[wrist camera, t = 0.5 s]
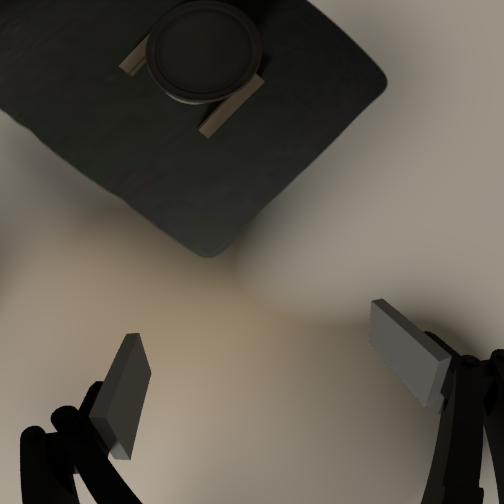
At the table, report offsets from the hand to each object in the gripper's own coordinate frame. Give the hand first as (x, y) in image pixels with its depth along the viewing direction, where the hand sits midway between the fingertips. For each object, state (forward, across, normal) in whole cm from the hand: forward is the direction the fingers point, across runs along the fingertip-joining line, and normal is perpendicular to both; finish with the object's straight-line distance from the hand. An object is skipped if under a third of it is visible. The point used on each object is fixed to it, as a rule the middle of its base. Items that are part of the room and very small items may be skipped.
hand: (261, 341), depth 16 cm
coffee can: (+25, -3, +24) cm, 34 cm away
